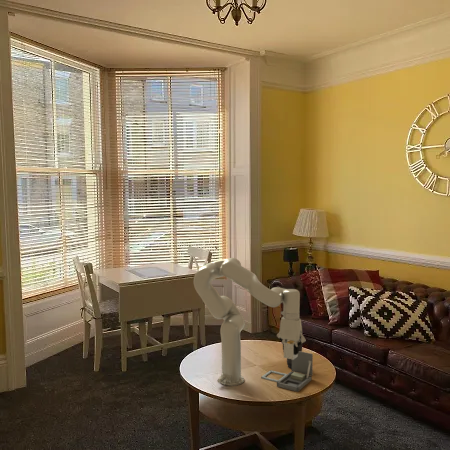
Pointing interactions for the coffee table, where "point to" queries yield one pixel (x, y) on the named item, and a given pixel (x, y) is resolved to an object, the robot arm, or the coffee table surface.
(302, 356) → the case
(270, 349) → the coffee table surface
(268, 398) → the coffee table surface
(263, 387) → the coffee table surface
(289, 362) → the camera lens
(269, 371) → the tray
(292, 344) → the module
